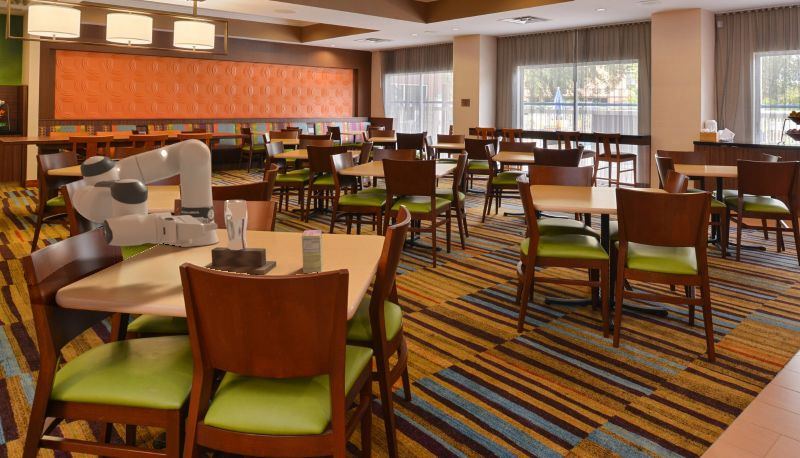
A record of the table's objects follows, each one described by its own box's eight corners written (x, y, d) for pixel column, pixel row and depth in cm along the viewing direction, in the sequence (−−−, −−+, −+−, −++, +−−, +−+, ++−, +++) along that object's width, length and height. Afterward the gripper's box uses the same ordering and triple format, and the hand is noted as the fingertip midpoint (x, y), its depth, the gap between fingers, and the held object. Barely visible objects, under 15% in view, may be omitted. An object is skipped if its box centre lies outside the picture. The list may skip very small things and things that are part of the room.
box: (304, 266, 198) (303, 229, 195) (322, 265, 198) (321, 229, 196) (302, 274, 187) (301, 236, 185) (321, 273, 188) (320, 235, 186)
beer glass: (233, 245, 197) (230, 199, 194) (252, 246, 195) (250, 200, 192) (221, 250, 190) (219, 202, 187) (242, 251, 188) (239, 203, 186)
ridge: (200, 273, 188) (199, 252, 187) (216, 264, 200) (215, 244, 199) (264, 275, 186) (263, 254, 185) (276, 265, 198) (275, 245, 197)
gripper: (159, 232, 189) (205, 228, 195) (172, 244, 171) (222, 239, 178) (158, 212, 188) (204, 209, 194) (170, 221, 170) (220, 218, 177)
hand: (213, 223), depth 186 cm, fingers open, 8 cm apart
